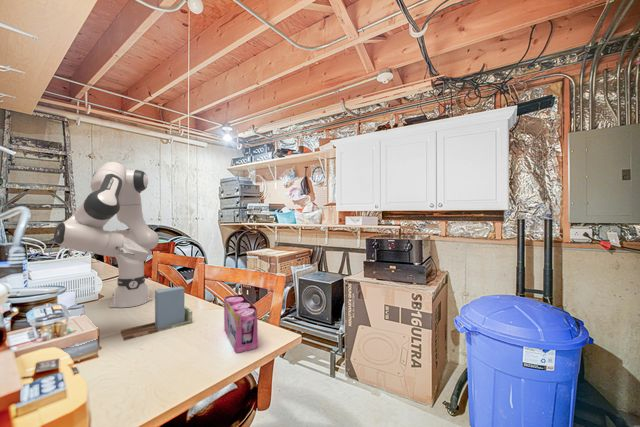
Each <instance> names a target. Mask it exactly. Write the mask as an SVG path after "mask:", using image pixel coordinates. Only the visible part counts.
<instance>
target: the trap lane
mask: <svg viewBox="0 0 640 427" xmlns="http://www.w3.org/2000/svg"><path fill="white" fill-rule="evenodd" d="M191 324H193V311H192V310H191V309H190V308H188V307H187V306H185V305H184V322H182V323H178V324H174V325H171V327H168V328H164V329H160V330H158V329H157V328H156V327H155V321H154V322H150V323H146V324H141V325H137V326H133V327H128V328H123V329H121V330H120V334H121V337H122V340H123V341H128V340H131V339H136V338H140V337H144V336H148V335H151V334H156V333H160V332H164V331H168V330H171V329H175V328H178V327H179V328H180V327H183V326H188V325H191Z"/></svg>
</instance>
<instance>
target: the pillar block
mask: <svg viewBox="0 0 640 427" xmlns="http://www.w3.org/2000/svg"><path fill="white" fill-rule="evenodd" d="M184 307H185V287H183V286H182V285H180V286H179V285H178V286H173V287H169V288H168V287H167V288H161V289H156V290H154V322H155V327H156V328H157V329H158V330H160V329H164V328H168V327H171V325H174V324H178V323H182V322H184Z"/></svg>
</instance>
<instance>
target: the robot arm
mask: <svg viewBox="0 0 640 427" xmlns="http://www.w3.org/2000/svg"><path fill="white" fill-rule="evenodd" d="M148 184H149V179H148V175H147V173H146V172H145V171H143V170H139V169H135V170H134V169H126V168H125V166H124V165H123V164H122V163H120V162H117V161H108V162H105V163H104V164H102V165H101V166H99V168H98V169H97V170H96V171H95V172H94V173H93V175H92V179H91V182H90V189H91V190H92V192H91V193H89V194H88V195H87V197H86V198H85V199H84V201H83V202H82V203H81V205H80V206H79V207H78V208H77V209H76V211H74V212H73V214H72V215H70V216H69V217H68V219H66V220H65V221H62V222H60V223H58V225H57V226H56V227H55V229H54V234H53V240H54V242H55V244H57V245H58V246H60V247H63V248H65V249H70V250H74V251H79V252H84V253H86V252H87V253H88V252H89V253H90V252H91V253H93V254H96V255H100V256H105V257H111V258H114V257H115V259H116V262H117V268H118V278H117V281H116V283H117V287H116V288H115V289H114V291H112V293H111V296H112V297H113V298H112V300H111V302H109V305H108V308H131V307H136V306H141V305H143V304H146V303H147V302H150V301H152V300H153V297H151V296H149V285H148V284H147V283H145V282H146V276H145V261H146V260H147V259H148V257H149V256H151V255H152V254H153V251H152V250H153V249H155V248H156V247H157V246H158V244H159V242H160V241H159V240H160V238H159V235H158V233H157V232H156V231H154V230H153V229H152V228H150V227H149V226H148V224H147V223H146V221H145V219H144V215H143V208H142V207H143V206H142V197H141V193H142V192H144V191H145V190H147V187H148ZM115 215H116V218H117V220H118V222H120V223H122V224H124V225H125V226H126V227H127V228H128V229H116V230H111V231H110V230H105V229H104V227H105V225H106V224H107V223H108V222H109V221H110V220H111V219H112V218H113V217H115Z"/></svg>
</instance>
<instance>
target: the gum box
mask: <svg viewBox="0 0 640 427" xmlns="http://www.w3.org/2000/svg"><path fill="white" fill-rule="evenodd" d="M223 300H224V301H223V303H224V304H223V315H224V317H223V318H224V319H223V320H224V322H223V323H224V324H223V328H224V332H225V334H226V335H227V338H228V341H229V342H230V344H231V346H232V348H233V350H234V352H235V354H237V353H242V352H248V351H252V350H255V349H258V348H259V345H258V342H259V341H258V340H259V338H258V337H259V336H258V330H259V329H258V308H257V307H256V306H255V305H254V304H253V303H252V302H251V301H250V300H248V298H246V296H245V295H244V294H242V293H241V294H235V295H228V296H224V297H223Z"/></svg>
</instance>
